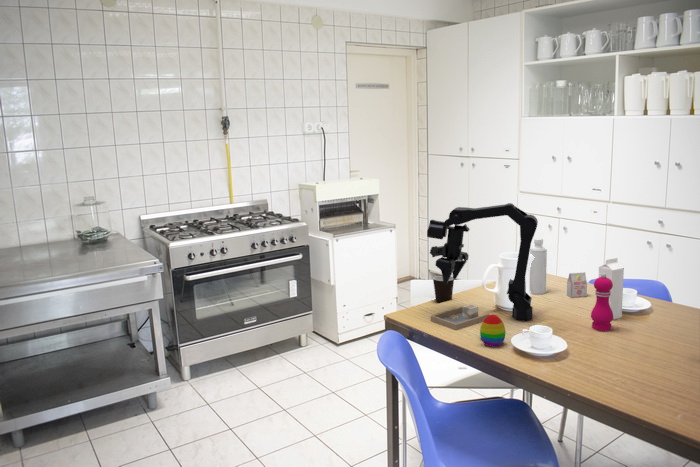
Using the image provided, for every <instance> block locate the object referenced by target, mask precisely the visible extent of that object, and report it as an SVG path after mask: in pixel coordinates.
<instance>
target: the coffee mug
mask: <svg viewBox="0 0 700 467" xmlns="http://www.w3.org/2000/svg"><path fill="white" fill-rule="evenodd" d="M432 281H433V289H434V295H435V302H436V304H443V303H445V302H450V301H452V300H453V291H454V283H455V279H453V276H451V277H450V279H449V281H448V283H447V284H444V282H443V277H442V275H437V276H434V277H433V278H432Z"/></svg>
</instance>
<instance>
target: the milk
mask: <svg viewBox="0 0 700 467" xmlns="http://www.w3.org/2000/svg"><path fill="white" fill-rule="evenodd" d="M624 270H625V269H624V267H623V265H621V264H620V263H619V262H618V257H614V258H609V259H605V264H603V265H600V266H598V278H599V277H601V274H602V273H605V274H606V277H607V278H609V279H610V280H611V281H612V283H613V287H612V289H611V290H610V291H611V296H609V305H610V308H611V310H612V312H613V320H612V321H614V320H617V319H621V318H622V316H623V298H624V297H623V296H624V273H625V272H624Z"/></svg>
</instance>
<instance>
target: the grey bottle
mask: <svg viewBox="0 0 700 467" xmlns="http://www.w3.org/2000/svg"><path fill="white" fill-rule="evenodd" d="M533 240H534V242H533V243H534V246H533V247H531V248H530V252H529V255H530V254H532V255H533V256H534V257H535V258H534V260H533V261H532V263H531V267H530V266H529V292H530V291H531V293H530V294H532V295H536V296H537V295H538V296H539V295H545V294H546V293H547V260H548V259H547V254H548V253H547V252H548V251H547V249H546V248H545V246H544V247H543V244H544V239H543V238H542V237H541V238H540V237H535V238H534V239H533Z"/></svg>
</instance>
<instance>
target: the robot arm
mask: <svg viewBox="0 0 700 467" xmlns="http://www.w3.org/2000/svg"><path fill="white" fill-rule="evenodd" d="M503 216H505V217H506V216H507V217H509V218H510V219H511V220H512V221H513V222H514V223H515V224H517V225H518V226H519V236H520V242H519V250H518V256H517V261H516V268H515V274H514V278H513V279H512V278H511V279H510V278H509V281H508V288H507V291H506V295H507V297H508V300H509V301H510V302H511V303H512V309H511V312H512V313H511V314H512V315H511V316H512V318H514V319H515V320H516V321H520V322H529V321H532V320H533V306H532V305H531V304H532V297H531V296H530V295H529V294H528V293H527V290H526V289H527V285H526V284H527V283H526V282H527V281H526V274H527V269H528V268H527V267H528V262H529V259H530V249H531V245H532V242H533V240H534V239H533V238H534V236H535V233H536V231H537V227H538V224H539V223H538V222H539V221H538V218H537V217H536V216H535V215H533V214H527V212H525V211H523V210H522V209H520V208H519V207H517V206H515V204H513V203H511V202H510V203H506V204H499V205H498V204H497V205H490V206H482V207H477V208H476V207H475V208H474V207H467V206H466V207H464V206H463V207H461V206H460V207H459V206H457V207H454V209H452V210H451V211H450V213H449V214H448V219H445V221H441V220H440V221H439V220H435V219H430V220H429V223H428V228H427V231H426V237H427V238H431V239H437V240H443V239H444V238H446V237H447V238H446V239H447V240H446V242H445V243H444V244H443V245H441V246H438V245H434V246H433V245H432V246H431V248H430V252H429V254H430V255H431V258H436V257H440V258H438V259H436V261H435V267H436V268H438V269H439V270H440V272H441V276H442V277H443V282H444V284H447V283H448V281H449V279H450V277H453V279H454V280H456V279H457V278H458V277H459V274H460V273H461V271H462V269H463V268H464V266H465V265H466V264H467V261H468V260H469V254H468V252H465V251H462V249H463V248H464V245H465V244H464V243H463V241H464V232H465V233H468V232H469V231H470V229H471V228H469V227H468V225H467V223H468V222H471V221H475V220H479V219H487V218H495V217H503ZM463 224H464V225H463ZM453 225H454V226H453Z"/></svg>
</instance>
